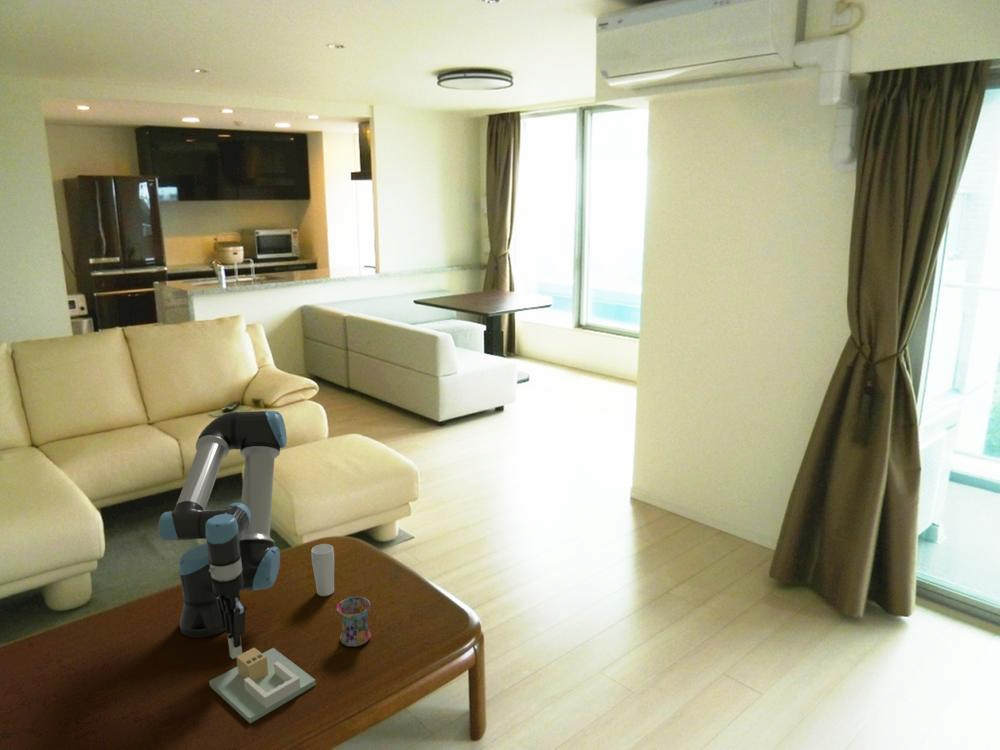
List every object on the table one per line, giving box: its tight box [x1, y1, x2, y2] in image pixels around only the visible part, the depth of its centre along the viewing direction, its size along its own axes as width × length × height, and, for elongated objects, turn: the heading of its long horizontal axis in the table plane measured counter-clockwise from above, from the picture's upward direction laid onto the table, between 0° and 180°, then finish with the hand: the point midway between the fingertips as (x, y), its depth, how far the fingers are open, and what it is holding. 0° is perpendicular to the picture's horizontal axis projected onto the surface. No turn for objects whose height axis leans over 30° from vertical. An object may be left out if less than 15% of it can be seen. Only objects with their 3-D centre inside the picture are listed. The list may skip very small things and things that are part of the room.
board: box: [208, 647, 317, 724], centre depth 177 cm, size 20×18×4 cm
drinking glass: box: [310, 543, 335, 597], centre depth 218 cm, size 7×7×15 cm
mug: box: [335, 596, 372, 648], centre depth 195 cm, size 12×9×11 cm
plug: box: [235, 647, 268, 682], centre depth 179 cm, size 6×5×5 cm
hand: (236, 655), depth 185 cm, fingers closed
